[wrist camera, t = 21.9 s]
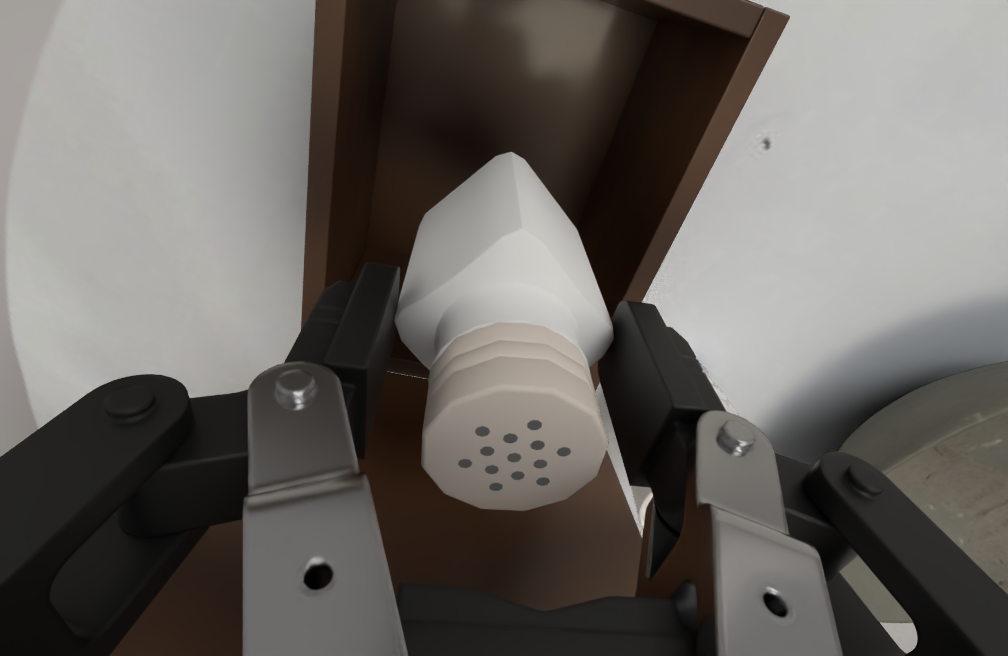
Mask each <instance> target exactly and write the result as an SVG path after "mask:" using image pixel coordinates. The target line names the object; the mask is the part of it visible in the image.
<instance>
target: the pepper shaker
mask: <svg viewBox="0 0 1008 656" xmlns="http://www.w3.org/2000/svg"><path fill="white" fill-rule="evenodd" d="M394 322H395V324H396V327H397V330H398V333H399V335H400V338H401V341H402V342H403V343H404V344H405V345H406V346H407V347H408V348H409V349H410V351H411V352H412V353H413V354H414V355H415V356H416V357H417V358H418V359H419V360H420V362H421V363H422V364H423V365H424V366H425V367H427V368H428V369H429V370H430V374H429V379H428V383H429V387H428V395H427V402H426V409H425V416H424V423H423V430H422V454H421V466H422V467H423V469H424V470H425V471H426V472H427V473H428V475H429V476H430V477H431V478H432V479H433V481H434V482H435V483H436V484H437V486H438V487H439V488H440V489H441V490H442V492H443V493H444V494H446V495H449V496H451V497H454V498H456V499H458V500H461V501H463V502H466V503H468V504H471V505H473V506H476V507H478V508H480V509H494V510H517V511H526V510H530V509H533V508H537V507H541V506H544V505H548V504H551V503H555V502H559V501H562V500H566V499H567V498H569V497H570V496H571V495H573V494H574V493H575V492H577V491H578V490H579V489H581V488H582V487H583V486H585V485H586V484H587V483H588V482H590V481H591V480H592V479H594V478H595V477H596V476H597V474H598V471H599V469H600V466H601V463H602V460H603V458H604V455H605V452H606V450H607V447H608V444H609V441H608V437H607V434H606V430H605V426H604V422H603V419H602V415H601V412H600V410H599V409H600V408H599V404H598V400H597V397H596V394H595V389H594V385H593V382H592V378H591V374H590V370H589V367H591V366H592V365H593V364H594V363H596V362H597V361H598V360H600V359H601V358H602V357H603V356H604V355H605V353H606V351H607V350H608V348H609V346H610V345H611V343H612V341H613V340H614V332H613V324H612V322H611V319H610V316H609V314H608V311H607V308H606V306H605V303H604V300H603V298H602V295H601V292H600V290H599V287H598V284H597V282H596V279H595V276H594V273H593V271H592V268H591V265H590V263H589V260H588V257H587V255H586V252H585V249H584V247H583V244H582V241H581V239H580V236H579V233H578V231H577V229H576V227H575V226H574V225H573V223H572V222H571V221H570V219H569V218H568V217H567V215H566V214H565V213H564V211H563V210H562V209H561V207H560V206H559V205H558V203H557V202H556V201H555V199H554V198H553V197H552V195H551V194H550V193H549V191H548V190H547V189H546V187H545V186H544V184H543V183H542V182H541V180H540V179H539V178H538V176H537V175H536V174H535V172H534V171H533V170H532V168H531V167H530V166H529V164H528V163H527V162H526V160H525V159H523V158H521V157H520V156H518V155H516V154H514V153H513V152H508V153H505V154H501V155H498V156H495V157H494V158H493V159H492V160H490V161H489V162H488V163H487V164H486V165H484V166H483V167H482V168H481V169H479V170H478V171H477V172H476V173H474V174H473V175H472V176H471V177H470V178H468V179H467V180H466V181H465V182H463V183H462V184H461V185H460V186H459V187H457V188H456V189H455V190H454V191H452V192H451V193H450V194H449V195H447V196H446V197H445V198H444V199H443V200H441V201H440V202H439V203H438V204H436V205H435V206H434V207H433V208H432V209H430V210H429V211H428V212H427V213H425V215H424V217H423V219H422V221H421V223H420V225H419V228H418V232H417V236H416V239H415V243H414V247H413V250H412V254H411V258H410V261H409V265H408V268H407V272H406V276H405V279H404V283H403V287H402V290H401V294H400V298H399V301H398V307H397V311H396V314H395V319H394Z"/></svg>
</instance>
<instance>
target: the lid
mask: <svg viewBox="0 0 1008 656" xmlns="http://www.w3.org/2000/svg"><path fill="white" fill-rule="evenodd" d="M428 387H429V383H428V379H423V378H418V377H412V376H407V375H402V374H396V373H391V372H387V373H386V377H385V381H384V385H383V389H382V393H381V397H380V400H379V404H378V408H377V412H376V416H375V420H374V424H373V428H372V432H371V436H370V440H369V444H368V447H367V451H366V455H365V459H364V460H362V459H357V461H358V466H359V470H360V472H365V473H366V475H367V478H368V481H369V485H370V489H371V494H372V498H373V502H374V507H375V511H376V516H377V520H378V524H379V529H380V533H381V538H382V542H383V546H384V551H385V555H386V560H387V564H388V568H389V573H390V577H391V582H392V586H393V590H394V595H395V599H396V600H397V593H398V586H399V583H414V584H430V585H446V586H463V587H472V588H475V589H478V590H481V591H484V592H487V593H490V594H493V595H496V596H499V597H501V598H504V599H507V600H510V601H513V602H516V603H519V604H522V605H525V606H528V607H531V608H534V609H537V610H542V611H548V610H553V609H558V608H562V607H566V606H570V605H574V604H578V603H582V602H586V601H590V600H595V599H599V598H603V597H607V596H624V597H635V593H636V588H637V581H638V573H639V564H640V555H641V546H642V537H641V535H640V532H639V530H638V527H637V525H636V522H635V520H634V517H633V515H632V512H631V510H630V507H629V505H628V502H627V500H626V497H625V495H624V492H623V489H622V487H621V484H620V482H619V479H618V477H617V474H616V472H615V469H614V467H613V464H612V462H611V459H610V457H609V454H608V452H607V450H606V452H605V455H604V458H603V460H602V463H601V466H600V469H599V471H598V474H597V476H596V477H595V478H594V479H592V480H591V481H590V482H588V483H587V484H586V485H585V486H583V487H582V488H581V489H579V490H578V491H577V492H575V493H574V494H573V495H571V496H570V497H569V498H567V499H566V500H562V501H559V502H555V503H551V504H548V505H544V506H541V507H537V508H533V509H530V510H526V511H517V510H494V509H480V508H478V507H476V506H473V505H471V504H468V503H466V502H463V501H461V500H458V499H456V498H454V497H451V496H449V495H446V494H444V493H443V492H442V490H441V489H440V488H439V487H438V486H437V484H436V483H435V482H434V481H433V479H432V478H431V477H430V476H429V475H428V473H427V472H426V471H425V470H424V469H423V467H422V466H421V454H422V430H423V423H424V416H425V409H426V402H427V395H428ZM110 656H243V519H242V520H237V521H232V522H227V523H223V524H218V525H213V526H210V527H209V529H208V530H207V531H206V533H205V534H204V535H203V536H202V538H201V539H200V540H199V542H198V543H197V544H196V545H195V547H194V548H193V549H192V551H191V552H190V553H189V554H188V556H187V557H186V558H185V560H184V561H183V562H182V563H181V565H180V566H179V567H178V568H177V570H176V571H175V572H174V574H173V575H172V576H171V577H170V579H169V580H168V581H167V583H166V584H165V585H164V586H163V588H162V589H161V590H160V592H159V593H158V594H157V595H156V597H155V598H154V599H153V601H152V602H151V603H150V604H149V606H148V607H147V608H146V610H145V611H144V612H143V613H142V615H141V616H140V617H139V618H138V620H137V621H136V622H135V624H134V625H133V626H132V627H131V629H130V630H129V631H128V633H127V634H126V635H125V636H124V638H123V639H122V640H121V642H120V643H119V644H118V645H117V647H116V648H115V649H114V651H113V652H112V653H111V654H110Z"/></svg>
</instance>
